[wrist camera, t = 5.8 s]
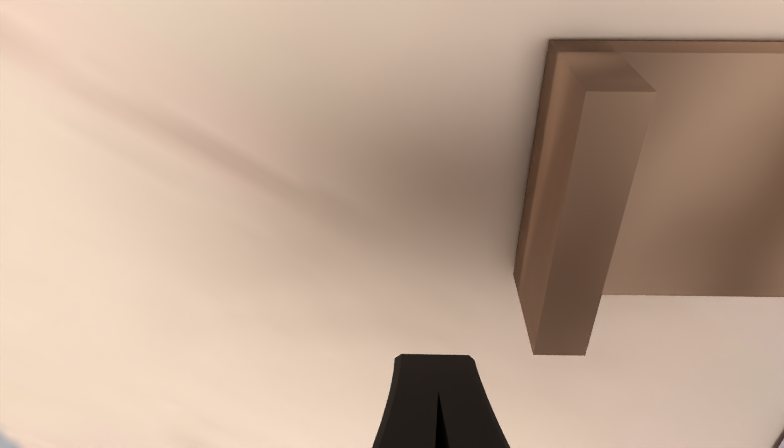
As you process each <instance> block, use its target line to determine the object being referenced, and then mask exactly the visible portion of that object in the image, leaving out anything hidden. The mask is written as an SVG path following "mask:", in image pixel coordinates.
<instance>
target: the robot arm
mask: <svg viewBox="0 0 784 448" xmlns="http://www.w3.org/2000/svg"><path fill="white" fill-rule="evenodd" d="M372 448H510V446H509V444H508V442H507V440H506V438H505V436H504V434H503V432H502V430H501V428H500V425H499V423H498V421H497V419H496V416H495V414H494V412H493V410H492V407H491V405H490V403H489V400H488V398H487V395H486V393H485V390H484V388H483V385H482V382H481V379H480V377H479V374H478V371H477V368H476V364H475V361H474V359H473V358H471V357H470V356H469V355H428V354H401V355H399V356H398V357H396V358H395V362H394V372H393V377H392V383H391V388H390V392H389V396H388V400H387V403H386V407H385V410H384V414H383V417H382V421H381V424H380V427H379V430H378V432H377V435H376V438H375V441H374V444H373V447H372ZM778 448H784V439H783V441H782V442H781V444H780V446H779V447H778Z"/></svg>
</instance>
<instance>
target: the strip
mask: <svg viewBox="0 0 784 448" xmlns="http://www.w3.org/2000/svg"><path fill="white" fill-rule="evenodd" d="M513 275H514V279H515V283H516V287H517V291H518V295H519V299H520V303H521V307H522V311H523V315H524V319H525V323H526V327H527V331H528V335H529V339H530V343H531V348H532V352H533V355H584V356H585V354H586V350H587V347H588V343H589V339H590V336H591V332H592V328H593V325H594V321H595V317H596V314H597V310H598V306H599V303H600V299H601V295H671V296H746V297H784V42H725V41H587V40H549V47H548V53H547V60H546V66H545V73H544V79H543V86H542V92H541V99H540V105H539V111H538V118H537V124H536V131H535V137H534V144H533V150H532V157H531V163H530V170H529V176H528V182H527V189H526V195H525V202H524V208H523V215H522V221H521V228H520V234H519V241H518V247H517V253H516V260H515V266H514V273H513Z"/></svg>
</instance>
